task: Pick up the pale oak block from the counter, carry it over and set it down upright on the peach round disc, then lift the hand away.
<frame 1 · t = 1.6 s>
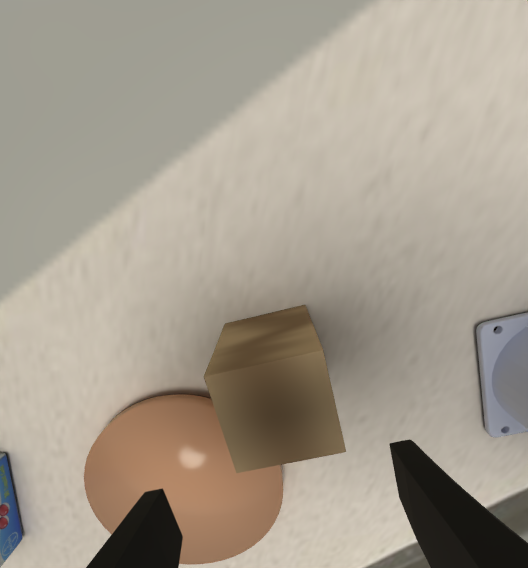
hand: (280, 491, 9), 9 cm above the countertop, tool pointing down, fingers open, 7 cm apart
peach round disc: (189, 471, 20), on the countertop
oak block: (274, 350, 18), on the countertop
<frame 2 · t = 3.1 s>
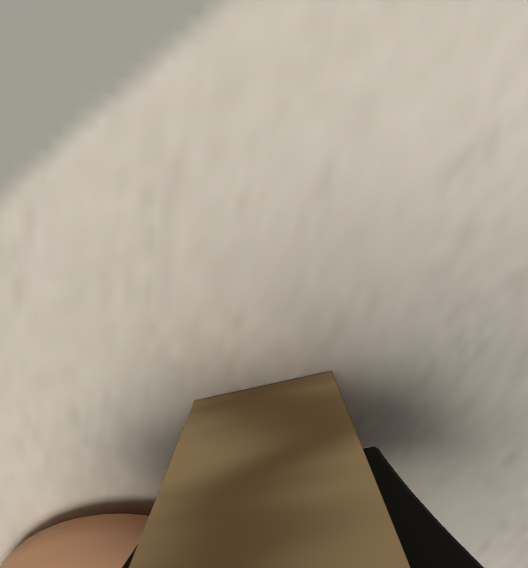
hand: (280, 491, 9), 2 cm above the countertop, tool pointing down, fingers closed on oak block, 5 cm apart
oak block: (278, 444, 11), on the countertop, touching gripper
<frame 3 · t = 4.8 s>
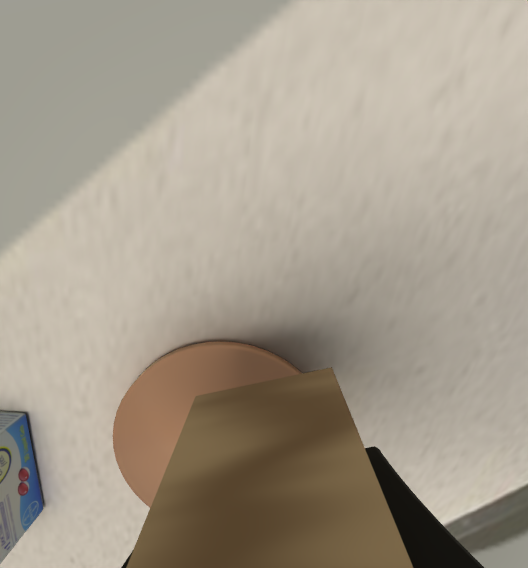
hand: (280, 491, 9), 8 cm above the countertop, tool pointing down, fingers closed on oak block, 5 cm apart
peach round disc: (226, 432, 19), on the countertop
medicine box: (8, 456, 20), on the countertop
oak block: (278, 439, 11), point 6 cm above the countertop, touching gripper
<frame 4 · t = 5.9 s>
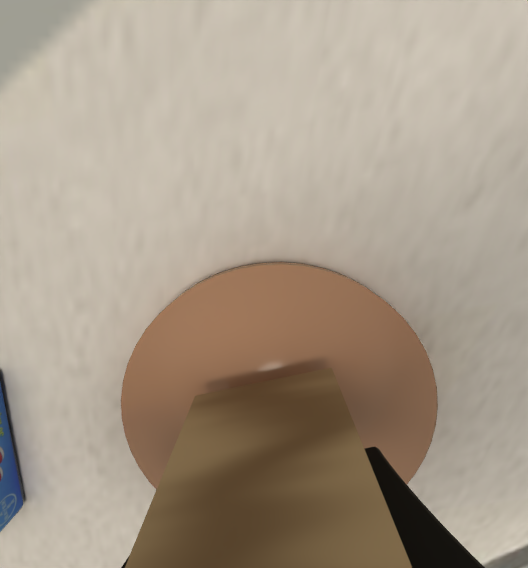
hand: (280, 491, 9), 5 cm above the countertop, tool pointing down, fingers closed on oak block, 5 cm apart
peach round disc: (276, 399, 13), on the countertop
oak block: (277, 439, 11), point 3 cm above the countertop, touching gripper
when the fingers open (4 cm above the countertop, at t = 6.8 s): oak block stays where it is, resting on peach round disc.
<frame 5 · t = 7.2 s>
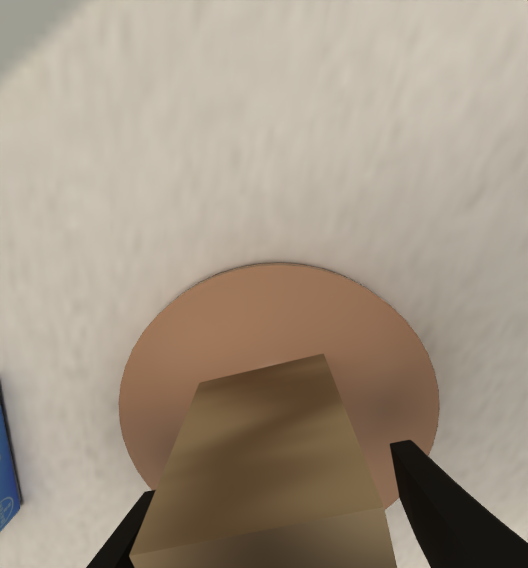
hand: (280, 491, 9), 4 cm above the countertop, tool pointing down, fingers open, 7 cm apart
peach round disc: (276, 401, 13), on the countertop
oak block: (276, 421, 12), point 1 cm above the countertop, touching peach round disc
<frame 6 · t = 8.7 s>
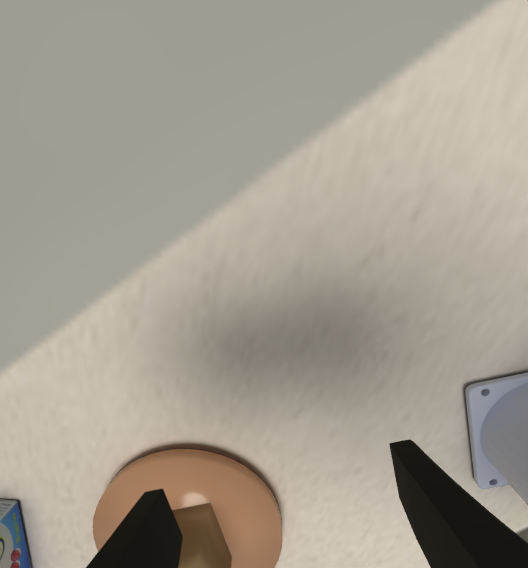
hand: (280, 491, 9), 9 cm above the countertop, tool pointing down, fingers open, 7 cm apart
peach round disc: (192, 517, 21), on the countertop
medicine box: (1, 534, 22), on the countertop
oak block: (186, 537, 20), point 1 cm above the countertop, touching peach round disc
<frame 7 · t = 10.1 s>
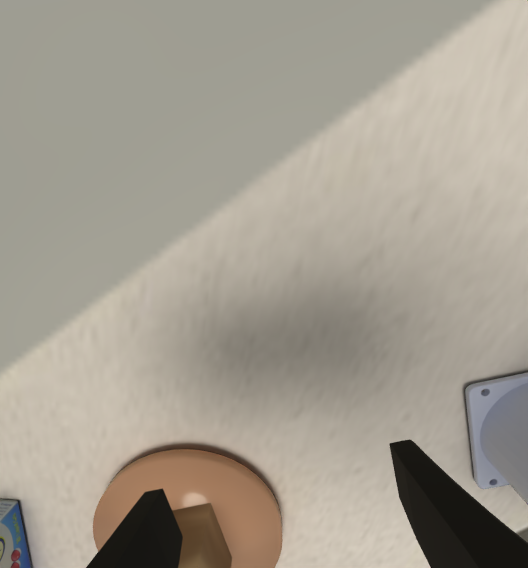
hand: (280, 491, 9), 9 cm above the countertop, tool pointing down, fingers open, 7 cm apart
peach round disc: (192, 518, 21), on the countertop
medicine box: (2, 534, 22), on the countertop
oak block: (186, 537, 20), point 1 cm above the countertop, touching peach round disc
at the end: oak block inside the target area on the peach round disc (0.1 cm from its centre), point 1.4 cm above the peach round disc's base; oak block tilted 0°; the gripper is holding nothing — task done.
